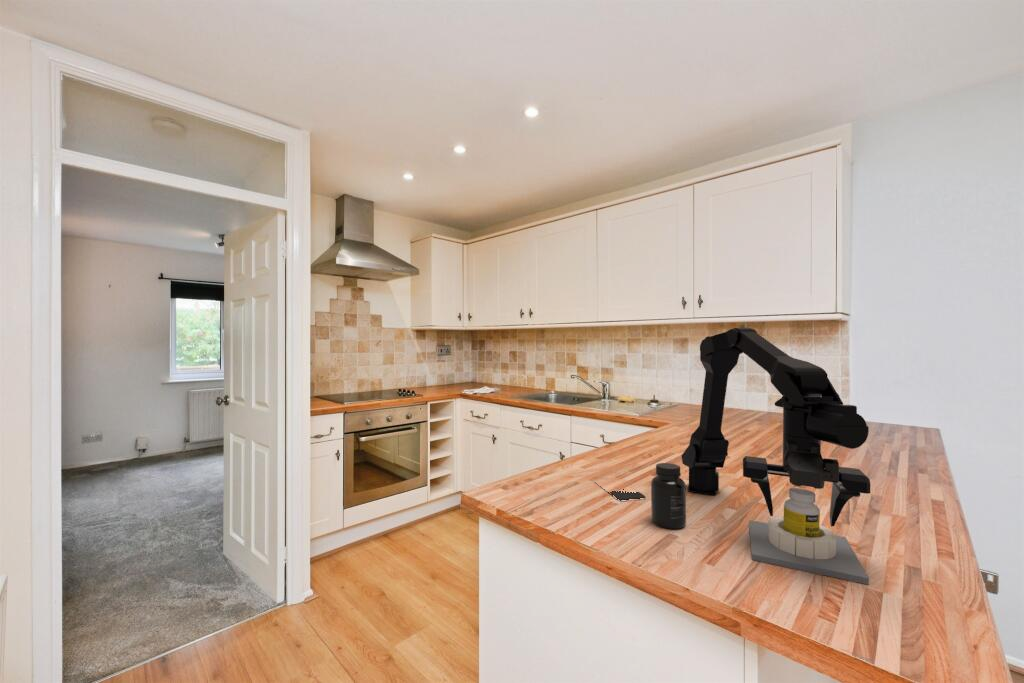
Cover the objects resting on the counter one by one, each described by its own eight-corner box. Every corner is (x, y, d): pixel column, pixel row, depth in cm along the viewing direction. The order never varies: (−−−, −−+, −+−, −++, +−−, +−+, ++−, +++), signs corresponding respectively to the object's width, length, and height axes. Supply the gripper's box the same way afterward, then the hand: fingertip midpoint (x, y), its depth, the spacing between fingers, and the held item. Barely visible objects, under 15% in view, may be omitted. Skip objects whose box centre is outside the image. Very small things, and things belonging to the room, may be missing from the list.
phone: (617, 478, 117) (647, 497, 103) (617, 481, 117) (647, 500, 103) (592, 480, 115) (619, 499, 101) (592, 483, 115) (619, 503, 101)
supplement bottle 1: (684, 518, 91) (685, 463, 91) (686, 532, 85) (687, 472, 85) (651, 514, 94) (651, 459, 93) (650, 527, 87) (651, 468, 87)
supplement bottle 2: (808, 554, 74) (808, 498, 74) (776, 541, 79) (777, 488, 79) (825, 548, 76) (826, 493, 76) (794, 535, 81) (794, 484, 81)
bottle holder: (751, 559, 74) (752, 536, 74) (749, 524, 88) (749, 505, 88) (868, 584, 67) (869, 559, 67) (845, 542, 81) (845, 521, 81)
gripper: (743, 438, 75) (743, 526, 75) (880, 451, 66) (880, 551, 66) (742, 426, 85) (742, 505, 85) (861, 437, 76) (861, 524, 76)
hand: (800, 520), depth 78 cm, fingers open, 9 cm apart
